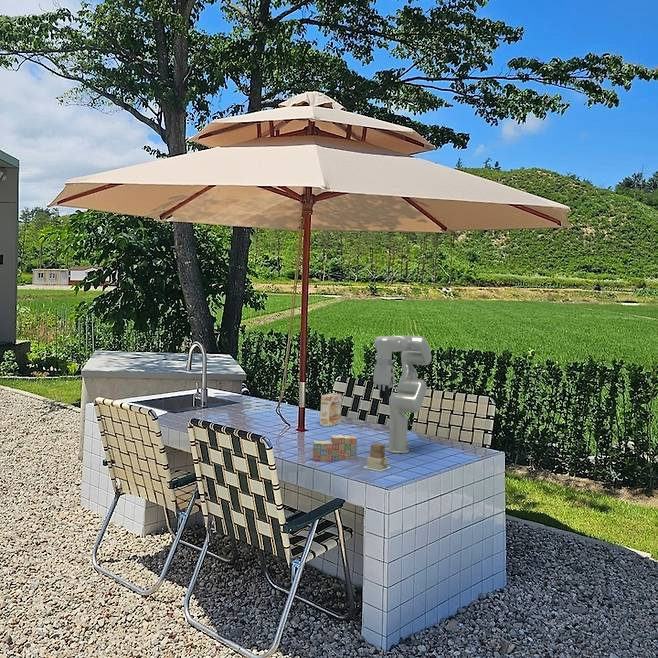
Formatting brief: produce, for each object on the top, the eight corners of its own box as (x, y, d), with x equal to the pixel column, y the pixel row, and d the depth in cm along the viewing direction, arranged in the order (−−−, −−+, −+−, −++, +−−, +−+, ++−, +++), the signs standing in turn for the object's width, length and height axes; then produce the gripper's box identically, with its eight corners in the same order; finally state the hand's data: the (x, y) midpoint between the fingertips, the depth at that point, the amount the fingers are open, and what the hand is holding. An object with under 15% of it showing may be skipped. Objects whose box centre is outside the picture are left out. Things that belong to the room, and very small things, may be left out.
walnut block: (375, 455, 336) (376, 443, 336) (384, 457, 333) (385, 444, 333) (370, 457, 332) (370, 444, 332) (379, 458, 329) (379, 446, 329)
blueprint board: (372, 464, 343) (372, 461, 343) (396, 469, 334) (397, 467, 334) (356, 469, 331) (356, 467, 331) (381, 475, 323) (381, 472, 323)
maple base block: (374, 464, 338) (375, 454, 337) (387, 467, 334) (387, 457, 333) (366, 467, 332) (367, 457, 332) (379, 470, 328) (379, 459, 328)
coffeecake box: (329, 427, 432) (330, 396, 431) (319, 425, 436) (320, 395, 435) (341, 423, 445) (342, 393, 444) (331, 422, 448) (332, 392, 447)
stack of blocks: (313, 461, 345) (314, 437, 344) (312, 458, 351) (313, 434, 350) (356, 462, 347) (357, 438, 346) (354, 459, 353) (355, 435, 352)
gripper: (400, 363, 348) (399, 399, 349) (375, 360, 356) (374, 395, 357) (392, 364, 341) (391, 400, 343) (367, 361, 350) (366, 397, 351)
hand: (382, 398), depth 350 cm, fingers closed
